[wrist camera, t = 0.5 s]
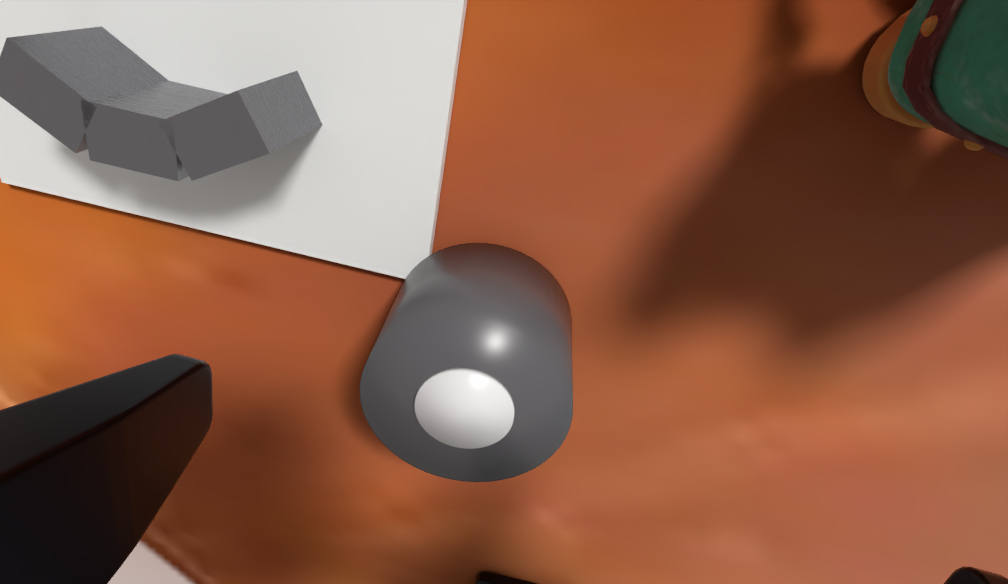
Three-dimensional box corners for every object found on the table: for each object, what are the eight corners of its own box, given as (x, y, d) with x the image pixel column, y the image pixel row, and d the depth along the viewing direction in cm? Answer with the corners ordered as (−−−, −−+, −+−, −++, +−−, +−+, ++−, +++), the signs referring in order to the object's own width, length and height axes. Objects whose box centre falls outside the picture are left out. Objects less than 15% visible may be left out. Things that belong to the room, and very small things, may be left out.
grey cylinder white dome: (550, 404, 21) (547, 503, 17) (389, 372, 21) (352, 465, 17) (591, 263, 18) (597, 347, 14) (404, 226, 18) (363, 301, 14)
